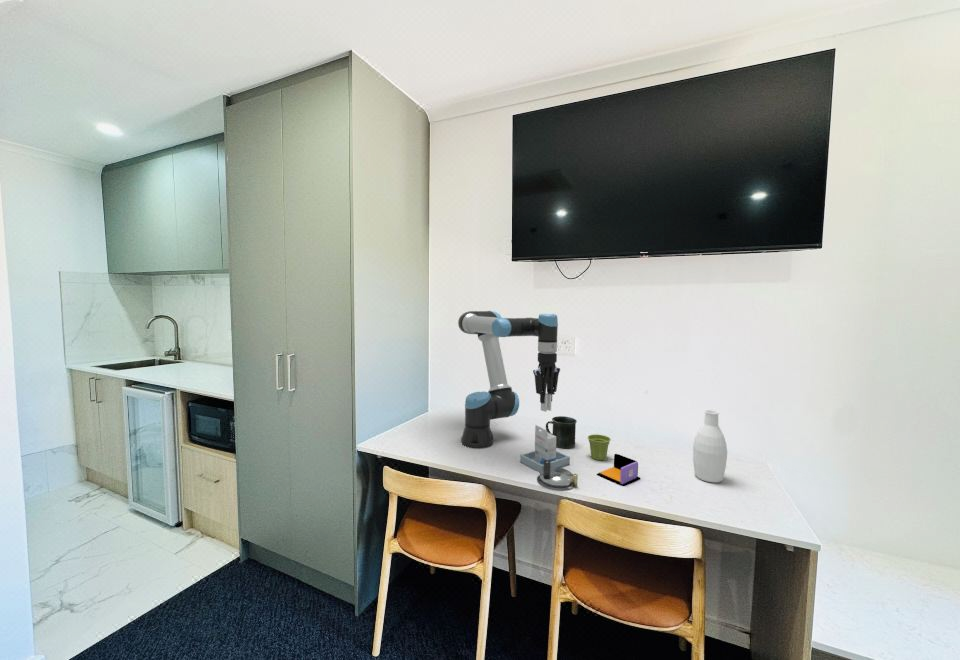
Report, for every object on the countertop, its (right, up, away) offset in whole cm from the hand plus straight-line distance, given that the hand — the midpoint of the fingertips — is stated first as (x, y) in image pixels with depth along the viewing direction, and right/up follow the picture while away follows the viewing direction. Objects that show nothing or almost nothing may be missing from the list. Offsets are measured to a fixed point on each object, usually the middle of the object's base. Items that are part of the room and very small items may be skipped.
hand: (545, 410), depth 150 cm
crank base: (+1, -23, -15) cm, 28 cm away
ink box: (0, -22, +2) cm, 22 cm away
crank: (+1, -22, -15) cm, 27 cm away
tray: (0, -22, +1) cm, 22 cm away
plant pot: (+24, -22, +9) cm, 34 cm away
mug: (+11, -21, +24) cm, 34 cm away
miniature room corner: (+26, -24, -9) cm, 36 cm away
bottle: (+60, -24, -9) cm, 66 cm away
